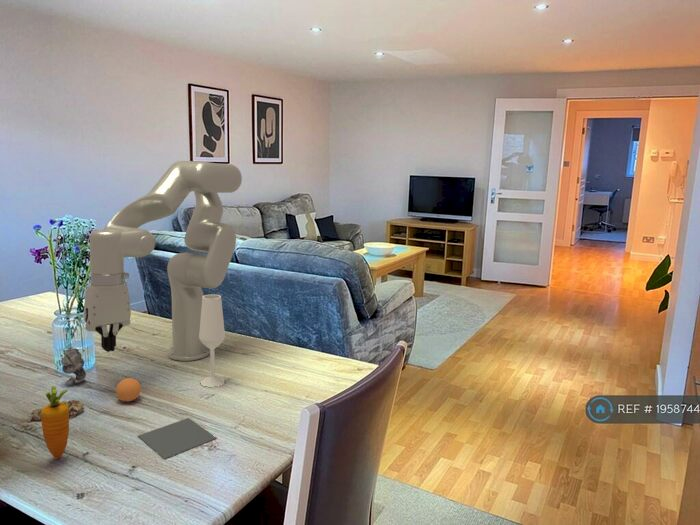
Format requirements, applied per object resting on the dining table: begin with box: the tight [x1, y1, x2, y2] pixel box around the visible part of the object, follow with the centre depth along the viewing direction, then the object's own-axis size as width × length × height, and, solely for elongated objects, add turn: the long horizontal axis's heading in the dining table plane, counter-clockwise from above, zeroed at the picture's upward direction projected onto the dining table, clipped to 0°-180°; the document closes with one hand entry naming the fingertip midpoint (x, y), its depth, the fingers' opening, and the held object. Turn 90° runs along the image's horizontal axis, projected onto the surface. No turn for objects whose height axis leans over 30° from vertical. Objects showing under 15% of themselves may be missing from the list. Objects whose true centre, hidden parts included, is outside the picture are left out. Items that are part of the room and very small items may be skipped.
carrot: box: [40, 385, 70, 460], centre depth 100 cm, size 5×5×15 cm
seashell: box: [60, 346, 87, 385], centre depth 135 cm, size 5×5×10 cm
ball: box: [115, 377, 142, 402], centre depth 127 cm, size 6×6×6 cm
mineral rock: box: [31, 399, 85, 422], centre depth 119 cm, size 11×4×8 cm
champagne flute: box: [199, 294, 226, 387], centre depth 138 cm, size 7×7×24 cm
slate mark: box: [137, 417, 218, 460], centre depth 111 cm, size 12×12×1 cm
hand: (108, 349), depth 131 cm, fingers closed
